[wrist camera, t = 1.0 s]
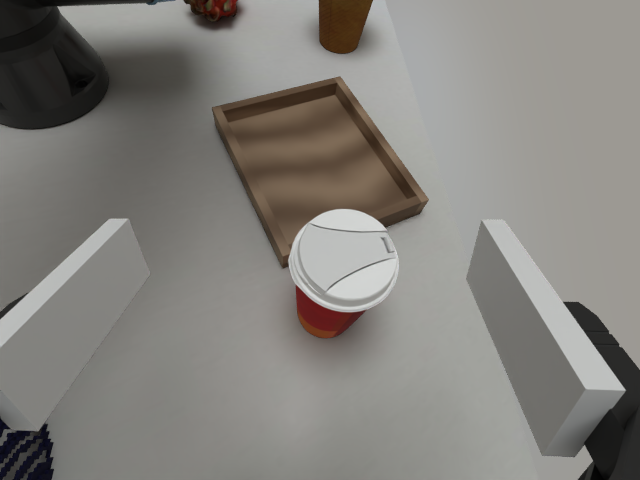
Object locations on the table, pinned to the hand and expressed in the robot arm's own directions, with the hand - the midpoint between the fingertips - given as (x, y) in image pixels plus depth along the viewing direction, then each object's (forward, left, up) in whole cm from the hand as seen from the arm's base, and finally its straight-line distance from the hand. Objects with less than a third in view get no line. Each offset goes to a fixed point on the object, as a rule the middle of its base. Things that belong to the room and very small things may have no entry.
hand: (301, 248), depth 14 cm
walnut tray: (-19, +12, -23) cm, 32 cm away
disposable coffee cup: (-41, +27, -23) cm, 55 cm away
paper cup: (-2, +5, -23) cm, 24 cm away
